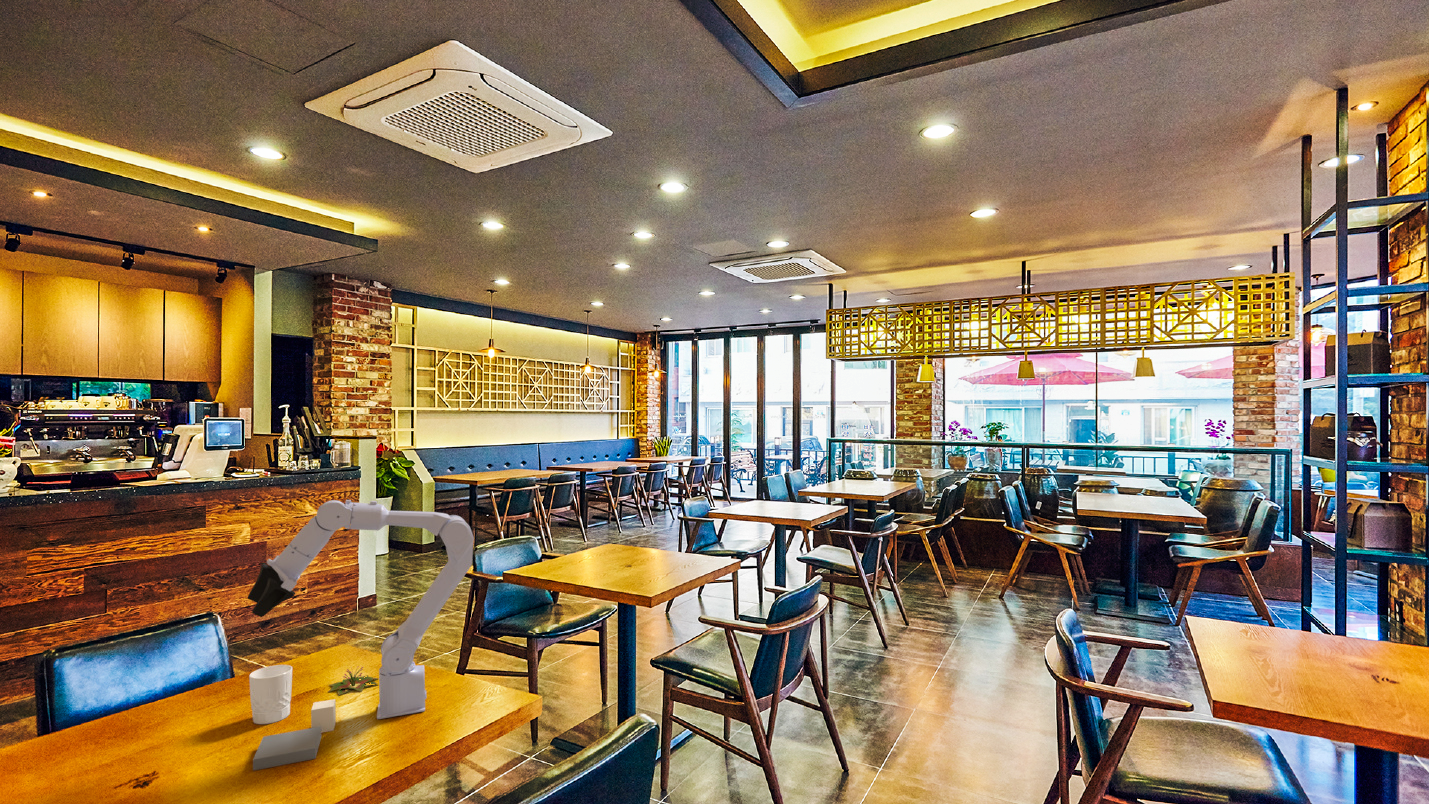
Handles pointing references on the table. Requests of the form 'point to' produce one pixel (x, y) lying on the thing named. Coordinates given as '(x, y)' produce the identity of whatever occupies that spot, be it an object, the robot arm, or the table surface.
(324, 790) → the table surface
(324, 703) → the cream block
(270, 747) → the slate tile
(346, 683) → the lily flower
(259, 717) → the white cup
